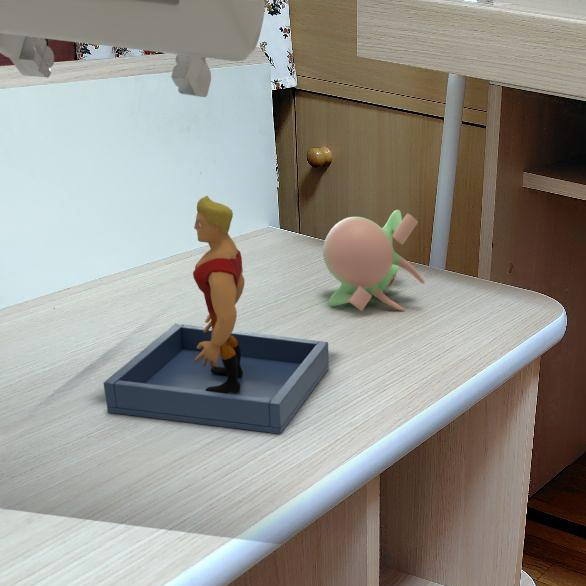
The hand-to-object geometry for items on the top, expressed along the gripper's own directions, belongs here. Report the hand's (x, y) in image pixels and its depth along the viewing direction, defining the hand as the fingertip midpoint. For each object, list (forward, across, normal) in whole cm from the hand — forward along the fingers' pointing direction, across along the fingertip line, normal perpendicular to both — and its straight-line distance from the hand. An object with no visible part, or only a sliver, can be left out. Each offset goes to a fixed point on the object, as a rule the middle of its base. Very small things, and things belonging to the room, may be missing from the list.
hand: (118, 76), depth 58 cm
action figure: (+26, 0, +9) cm, 28 cm away
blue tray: (+26, 0, +9) cm, 28 cm away
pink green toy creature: (+45, -6, -9) cm, 46 cm away
